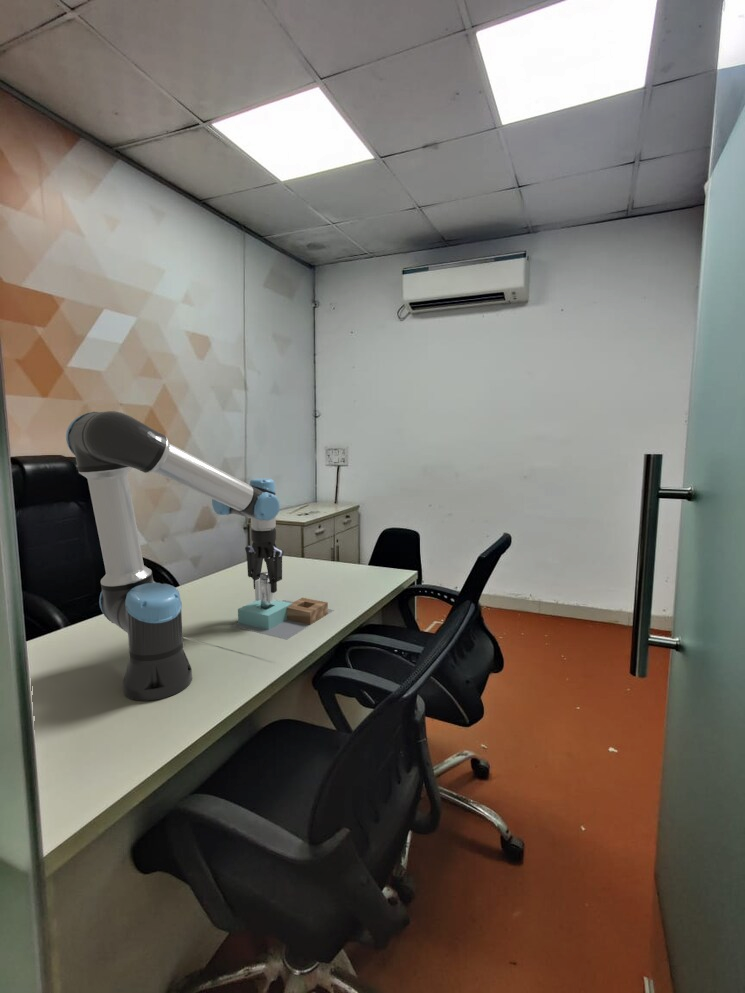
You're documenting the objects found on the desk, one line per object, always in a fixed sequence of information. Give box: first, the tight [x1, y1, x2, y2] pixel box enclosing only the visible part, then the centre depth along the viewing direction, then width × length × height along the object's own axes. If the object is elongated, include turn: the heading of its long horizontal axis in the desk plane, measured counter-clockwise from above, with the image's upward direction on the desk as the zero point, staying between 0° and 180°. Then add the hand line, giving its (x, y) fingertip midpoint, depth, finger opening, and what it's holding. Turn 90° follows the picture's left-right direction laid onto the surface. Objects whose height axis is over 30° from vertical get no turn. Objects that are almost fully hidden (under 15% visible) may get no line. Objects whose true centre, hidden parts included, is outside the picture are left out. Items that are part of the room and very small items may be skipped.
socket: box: [237, 599, 292, 630], centre depth 153 cm, size 12×12×4 cm
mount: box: [287, 597, 329, 626], centre depth 156 cm, size 10×10×4 cm
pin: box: [259, 571, 270, 610], centre depth 153 cm, size 3×3×15 cm
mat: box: [231, 599, 335, 640], centre depth 155 cm, size 26×21×1 cm
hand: (265, 600), depth 153 cm, fingers open, 4 cm apart
